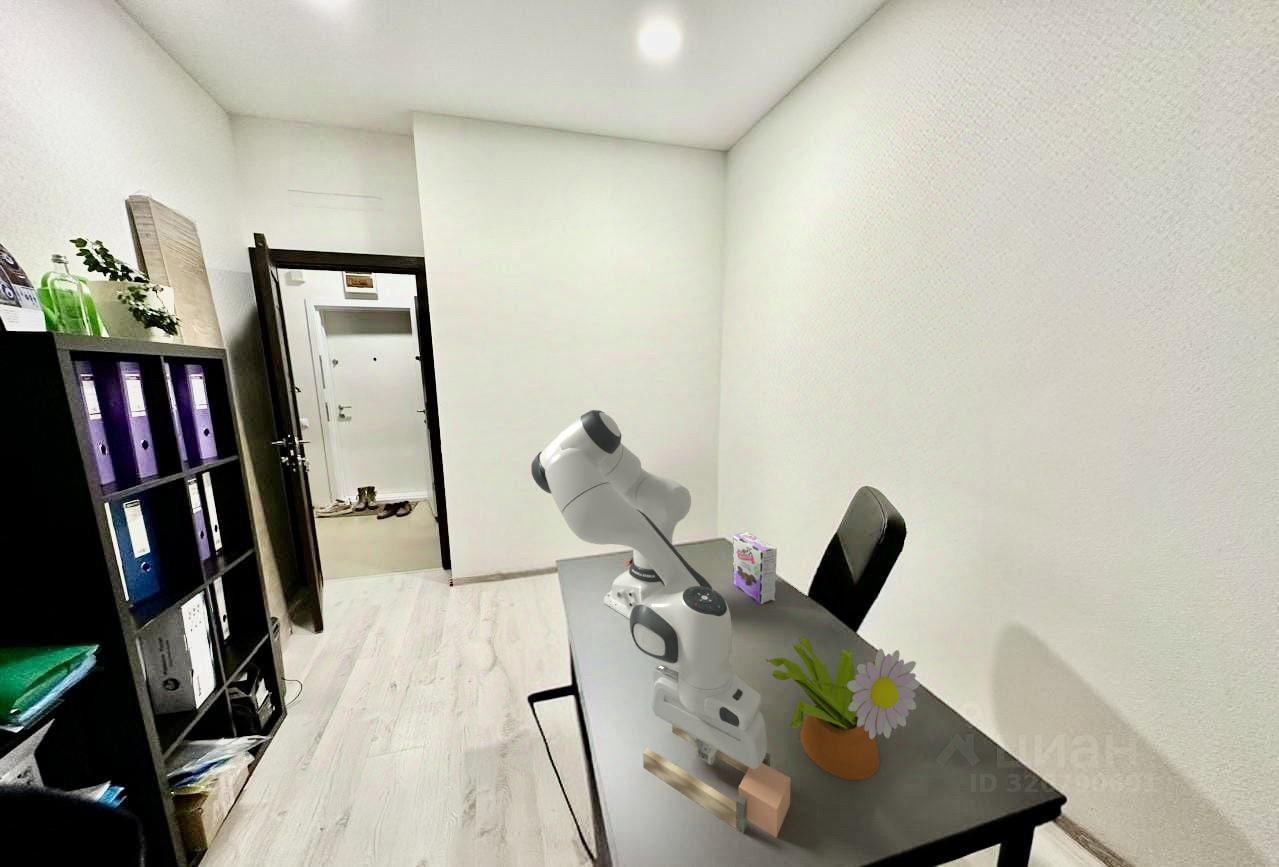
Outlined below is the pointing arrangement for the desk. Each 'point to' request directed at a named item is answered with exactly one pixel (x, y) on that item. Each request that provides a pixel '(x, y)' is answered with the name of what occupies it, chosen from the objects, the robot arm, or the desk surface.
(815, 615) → the desk surface
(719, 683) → the robot arm
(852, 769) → the decorative plant
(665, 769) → the chute
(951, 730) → the desk surface
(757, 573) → the candy box
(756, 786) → the block
